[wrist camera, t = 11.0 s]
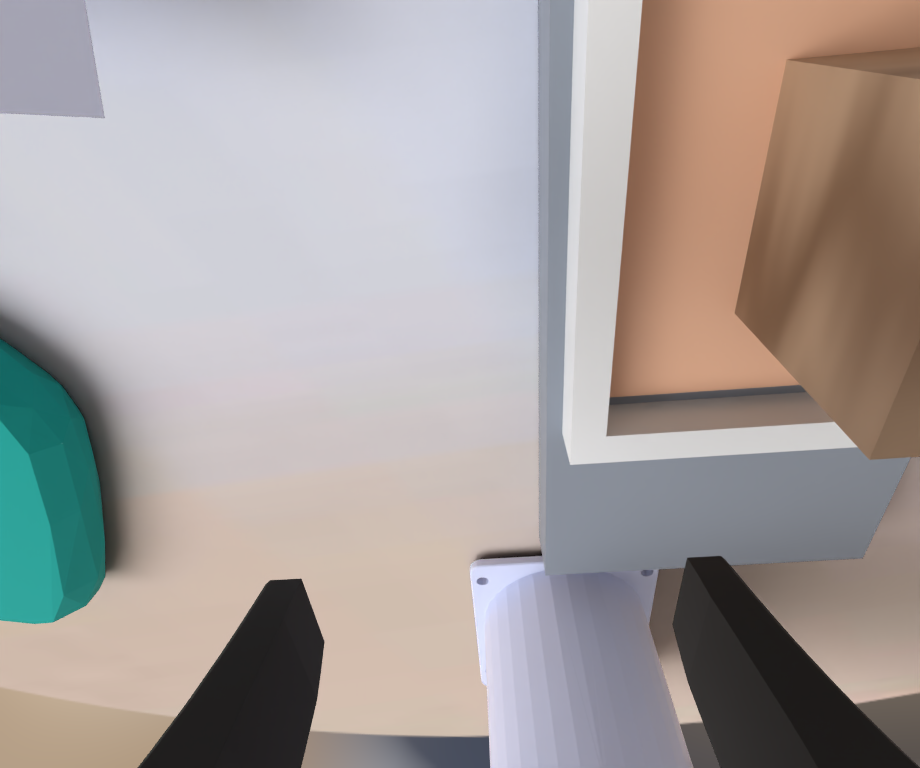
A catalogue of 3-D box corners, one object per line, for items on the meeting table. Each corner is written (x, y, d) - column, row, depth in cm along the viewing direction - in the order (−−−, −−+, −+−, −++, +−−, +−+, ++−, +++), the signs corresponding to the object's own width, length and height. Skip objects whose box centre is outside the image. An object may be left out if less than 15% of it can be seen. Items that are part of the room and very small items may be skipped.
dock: (833, 518, 23) (887, 592, 20) (539, 535, 23) (550, 609, 21) (1227, -445, 10) (1555, -639, 7) (537, -362, 10) (570, -511, 7)
